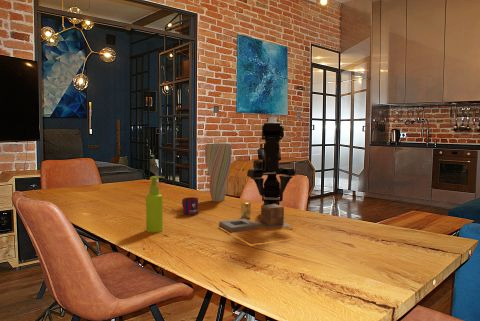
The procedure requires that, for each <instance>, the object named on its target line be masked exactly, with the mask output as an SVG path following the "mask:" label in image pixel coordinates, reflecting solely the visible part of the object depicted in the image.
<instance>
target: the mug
mask: <svg viewBox="0 0 480 321" xmlns="http://www.w3.org/2000/svg"><path fill="white" fill-rule="evenodd" d="M181 204H182V215H184V216H197V215H199V198H198V197H194V196H193V197H189V196H188V197H183V198H182V200H181Z"/></svg>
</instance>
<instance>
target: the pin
mask: <svg viewBox="0 0 480 321" xmlns="http://www.w3.org/2000/svg"><path fill="white" fill-rule="evenodd" d="M240 219H247V220H251V202H248V201H242V202H240Z"/></svg>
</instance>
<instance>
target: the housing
mask: <svg viewBox="0 0 480 321" xmlns="http://www.w3.org/2000/svg"><path fill="white" fill-rule="evenodd" d="M260 205H261V204H260ZM284 214H285V207H284V206H283V205H280V204H279V205H277V204H269V205H263V204H262V205H261V206H260V216H261V218H260V221H261V223H263V224H265V225H267V226H277V225H284V222H285V217H284Z"/></svg>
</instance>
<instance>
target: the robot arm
mask: <svg viewBox="0 0 480 321" xmlns="http://www.w3.org/2000/svg"><path fill="white" fill-rule="evenodd" d="M261 126H262V127H261V129H262V130H261V140H262V141H263V140H264V146H263V152H264V155H263V157H262V158H261V161H260V160H259V159H258V160H257V159H255V160H253V163H252V166H253V168H249V169H248V170H247V173H246V176H247V177H248V178H250V179H251V180H253V181H254V182H255V185H256V187H257V191H258V193H259V196H261V202H263V204H262V205H269V204H277V205H280V203H281V202H283V200H284V199H283V198H284V193H285V190H286V188H287V186H288V184H289V182H290V181H291V179H293V177H294V176H295V177H296V169H295V168H293V167H280V161H282V157H280V148H281V147H280V143H281V141H282V140H283V139H284V136H285V134H284V133H285V132H284V131H285V128H284V126H283V124H282V123H281V122H280V121H279V117H276V116H273V117H272V116H270V117H269V116H268V117H267V118H266V121H264V123H263V124H262V125H261ZM263 176H267V177H266V179H265V178H263ZM277 176H278V178H279V179H278V178H277ZM264 180H265V181H264ZM279 180H280V181H279Z"/></svg>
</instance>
